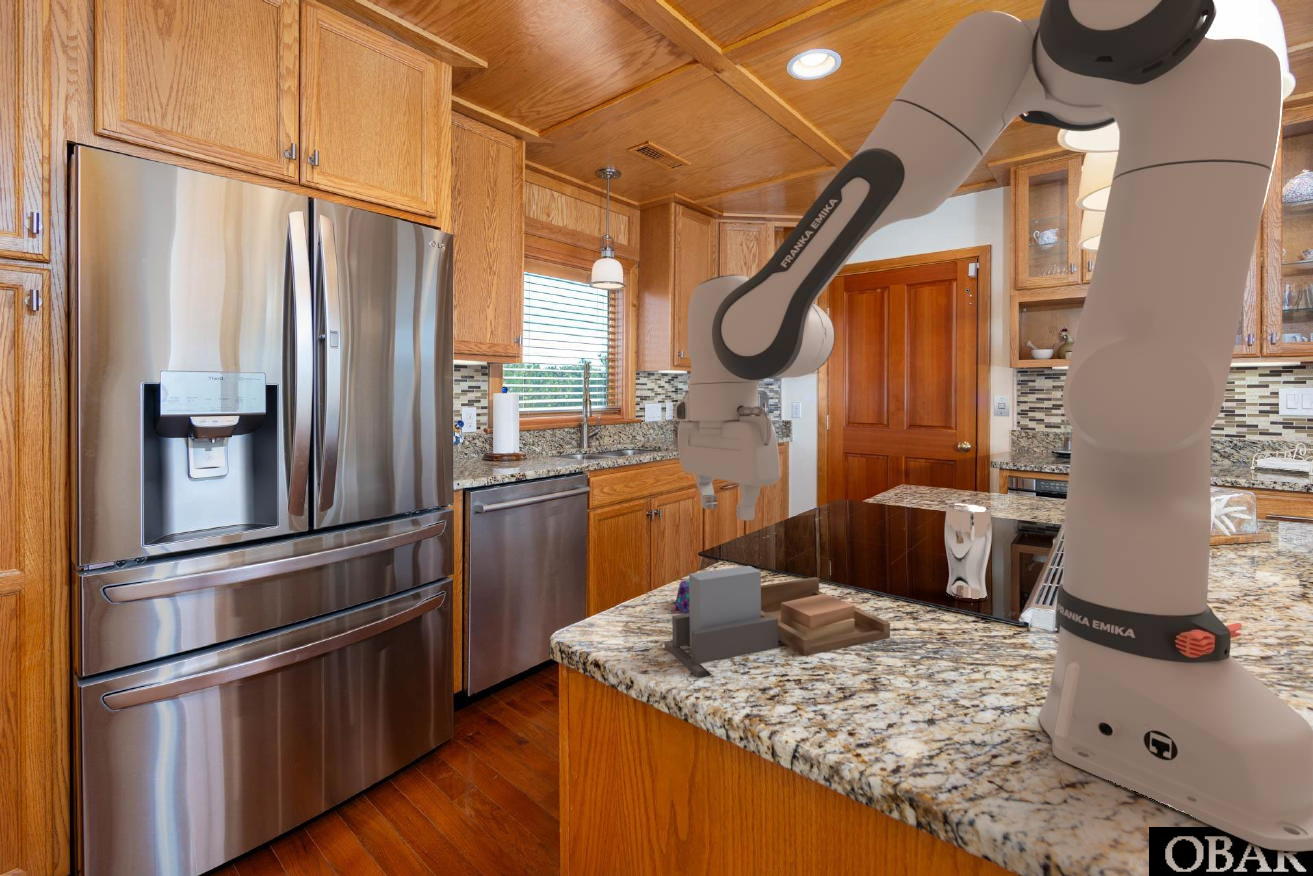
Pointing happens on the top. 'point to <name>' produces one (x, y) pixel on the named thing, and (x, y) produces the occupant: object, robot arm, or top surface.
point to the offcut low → (822, 629)
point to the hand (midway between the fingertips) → (726, 513)
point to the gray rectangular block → (724, 597)
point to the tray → (865, 631)
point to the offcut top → (817, 611)
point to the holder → (720, 641)
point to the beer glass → (967, 549)
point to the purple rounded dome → (683, 597)
